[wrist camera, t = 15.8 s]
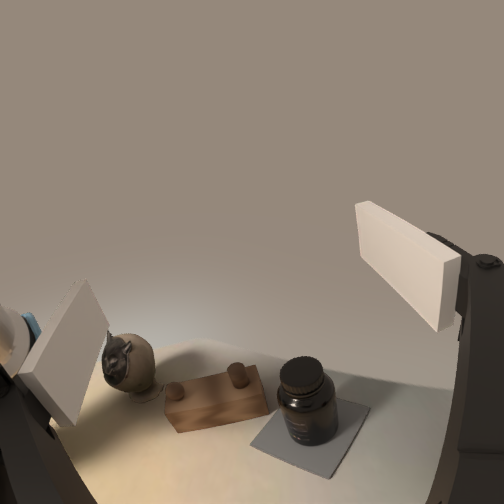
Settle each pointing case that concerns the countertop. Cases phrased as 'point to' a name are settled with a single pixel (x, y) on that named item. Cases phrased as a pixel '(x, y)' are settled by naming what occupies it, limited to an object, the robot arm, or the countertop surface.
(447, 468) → the robot arm
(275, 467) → the countertop surface
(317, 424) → the supplement bottle
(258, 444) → the slate mat
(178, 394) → the plane body block
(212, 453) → the countertop surface
